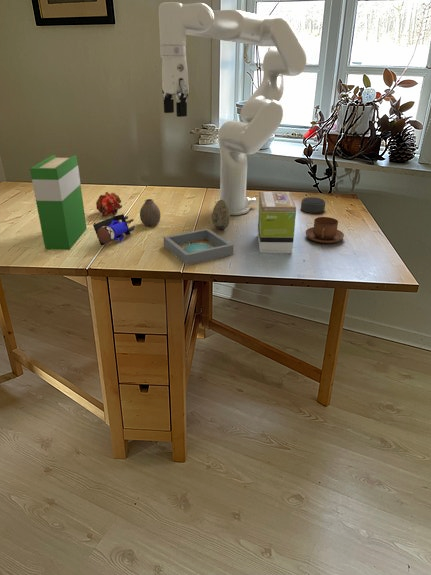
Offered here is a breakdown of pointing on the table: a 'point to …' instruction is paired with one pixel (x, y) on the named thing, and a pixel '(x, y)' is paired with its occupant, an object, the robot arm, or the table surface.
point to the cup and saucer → (325, 230)
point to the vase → (150, 213)
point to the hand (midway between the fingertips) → (175, 114)
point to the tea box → (276, 222)
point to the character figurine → (113, 229)
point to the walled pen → (198, 246)
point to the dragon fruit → (108, 204)
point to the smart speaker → (313, 205)
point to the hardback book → (59, 201)
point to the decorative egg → (220, 215)
